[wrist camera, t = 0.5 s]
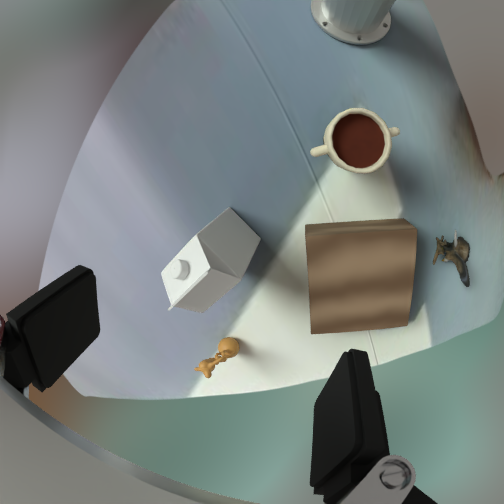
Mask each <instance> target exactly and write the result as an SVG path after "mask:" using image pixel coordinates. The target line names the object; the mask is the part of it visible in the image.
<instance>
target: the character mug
mask: <svg viewBox="0 0 504 504" xmlns="http://www.w3.org/2000/svg"><path fill="white" fill-rule="evenodd" d="M399 134H400V130H399V129H398V128H396V127H392V128H388V127H387V125H386V123H385V121H384V120H382V119H381V118H380V117H379V116H378V115H377V114H376V113H374V112H372V111H369V110H366V109H364V108H350V109H348V110H346V111H343V112H341V113H339V114H338V115H337V116H336V117H335V118H334V119H333V120H332V121H331V122H330V123H329V125H328V126H327V127H326V131H325V134H324V138H323V142H324V145H322V146H318V147H315V148H313V149H311V152H310V154H311V155H312V156H314V157H318V156H321V155H325V154H328V156H329V157H330V158H331V160H332V161H333V162H334V164H336V165H337V166H338V167H340V168H343V169H345V170H347V171H351V172H355V173H362V174H366V173H372V172H374V171H376V170H378V169H379V168H381V167H382V166H383V165H384V163H385V162H386V161H387V159H388V158H389V155H390V151H391V147H392V141H391V137H394V136H397V135H399Z"/></svg>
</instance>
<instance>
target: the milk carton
mask: <svg viewBox="0 0 504 504" xmlns="http://www.w3.org/2000/svg"><path fill="white" fill-rule="evenodd" d="M260 240H261V238H260V237H259V236H258V235H257V234H256V233H255V232H254V231H253V230H252V229H251V228H250V227H249V226H248V225H247V224H246V223H245V222H244V221H243V220H242V219H241V218H240V217H239V216H238V215H237V214H236V213H235V212H234V211H233V210H232V209H231V208H230V207H229V208H227V209H226V210H225V211H224V212H223V213H221V214H220V215H219V216H218V217H216V218H215V219H214V220H213V221H212V222H210V223H209V224H208V225H207V226H206V227H204V228H203V229H202V230H201V231H200V232H198V233H197V234H196V235H195V236H194V237H193V238H192V239H191V240H190V241H189V242H188V243H187V244H186V245H185V247H184V248H183V249H182V250H181V251H180V252H179V253H178V254H177V255H176V256H175V257H174V259H173V260H172V261H171V262H170V263H169V264H168V265H167V266H166V267H165V269H164V270H163V271H162V273H161V275H162V278H163V281H164V284H165V287H166V291H167V294H168V297H169V300H170V303H171V306H170V307H169V308H168V310H170V309H171V308H172V307H173V306H174V307H179V308H183V309H187V310H191V311H196V312H200V313H203V312H205V311H206V310H207V309H208V308H209V307H211V306H212V305H213V304H214V303H215V302H216V301H218V300H219V299H220V298H221V297H222V296H224V295H225V294H226V293H227V292H228V291H229V290H231V289H232V288H233V287H234V286H235V285H236V284H238V283H239V282H240V281H241V280H242V278H243V276H244V273H245V271H246V269H247V267H248V265H249V263H250V261H251V259H252V257H253V254H254V252H255V250H256V248H257V246H258V244H259V242H260Z"/></svg>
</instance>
